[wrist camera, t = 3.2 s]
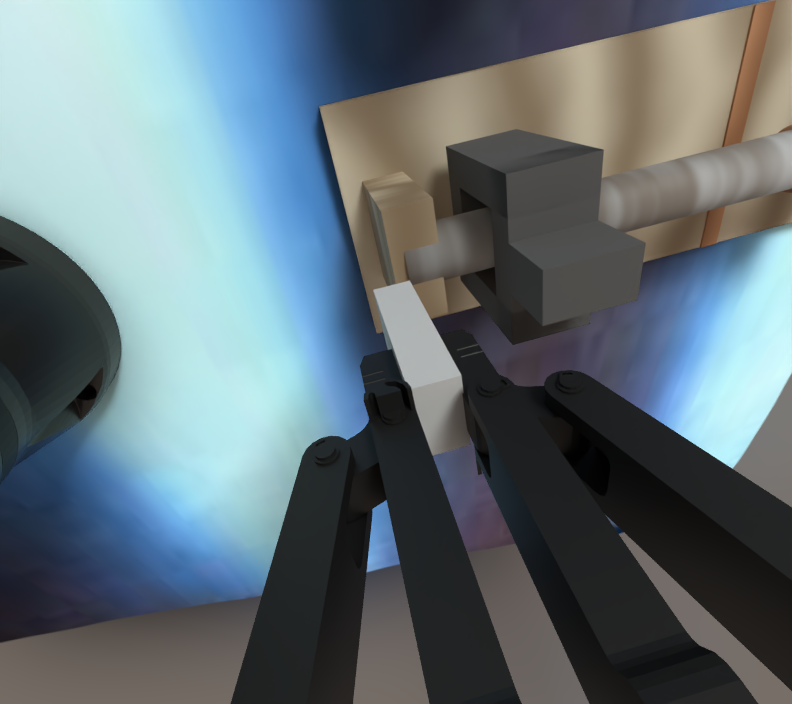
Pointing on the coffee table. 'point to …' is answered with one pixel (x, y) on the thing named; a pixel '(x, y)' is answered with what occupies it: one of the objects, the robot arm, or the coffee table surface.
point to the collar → (542, 233)
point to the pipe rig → (584, 124)
